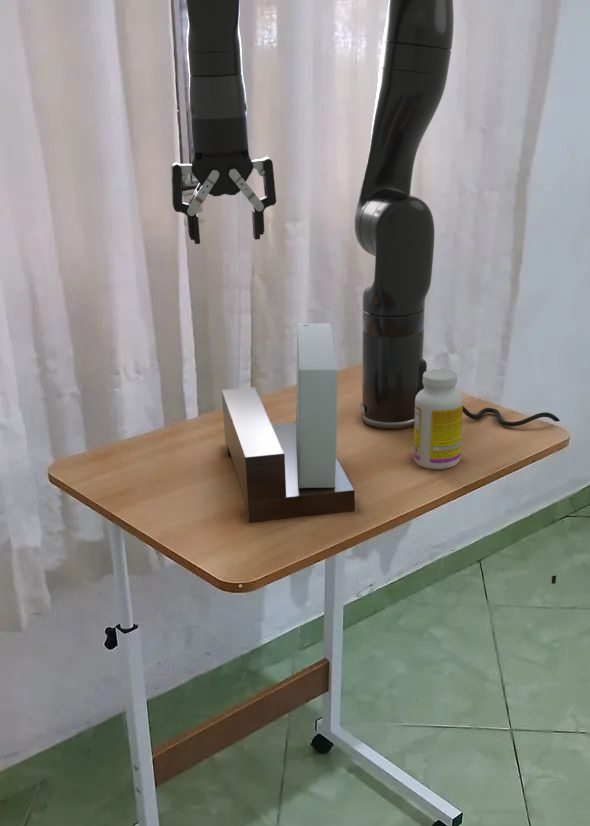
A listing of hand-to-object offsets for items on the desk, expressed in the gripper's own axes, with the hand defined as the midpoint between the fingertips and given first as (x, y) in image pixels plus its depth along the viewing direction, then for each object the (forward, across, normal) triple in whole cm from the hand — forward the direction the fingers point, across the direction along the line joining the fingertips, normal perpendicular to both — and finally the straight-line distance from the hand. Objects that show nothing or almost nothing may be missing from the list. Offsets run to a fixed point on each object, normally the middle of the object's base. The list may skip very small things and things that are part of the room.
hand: (226, 240), depth 145 cm
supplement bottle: (+28, -26, +20) cm, 43 cm away
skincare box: (+25, -8, +21) cm, 34 cm away
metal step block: (+28, -4, +20) cm, 35 cm away
